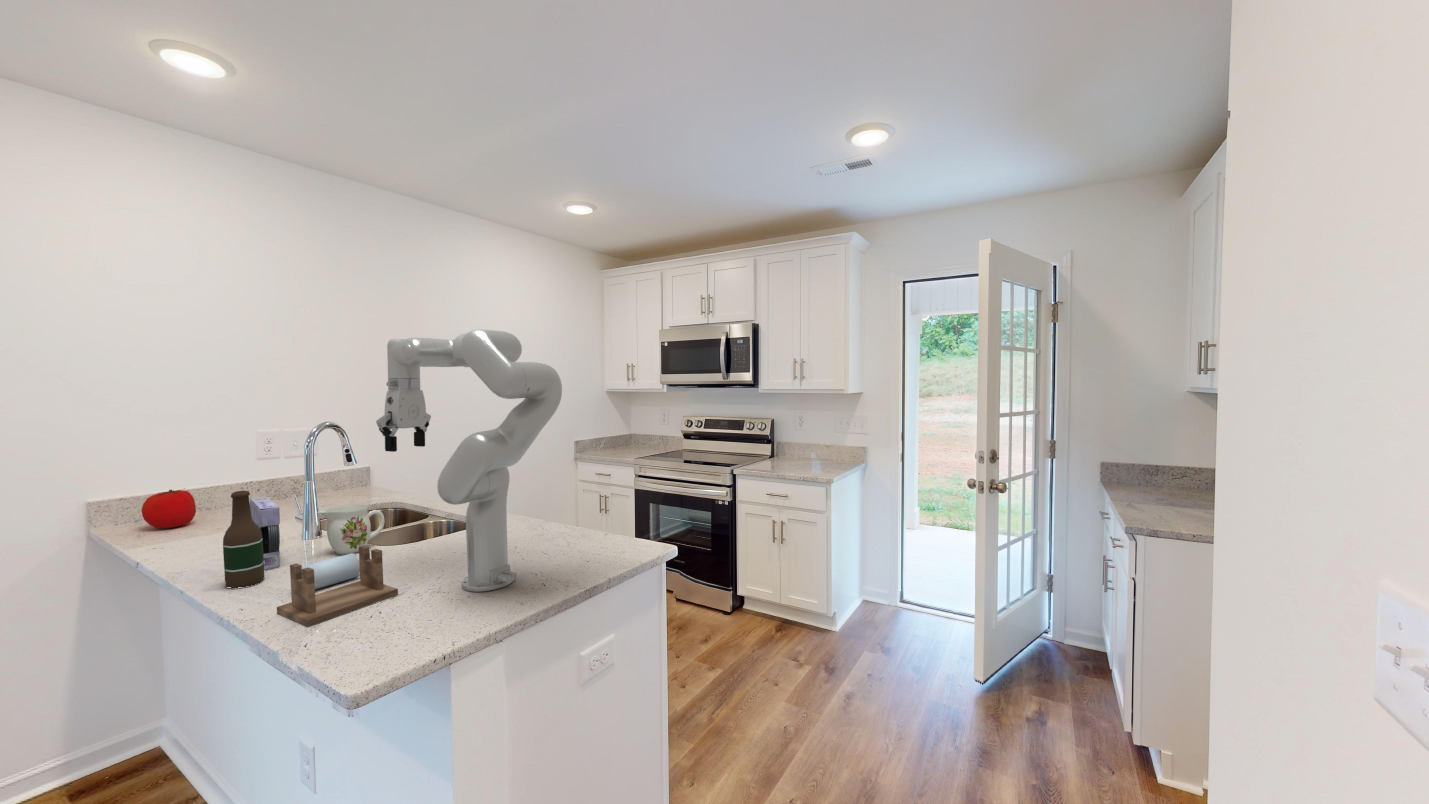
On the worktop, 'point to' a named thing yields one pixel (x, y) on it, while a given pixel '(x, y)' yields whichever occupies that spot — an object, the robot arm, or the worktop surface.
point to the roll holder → (336, 592)
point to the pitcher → (350, 527)
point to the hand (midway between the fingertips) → (405, 448)
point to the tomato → (169, 509)
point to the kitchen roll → (335, 570)
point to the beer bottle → (243, 545)
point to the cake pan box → (267, 529)
